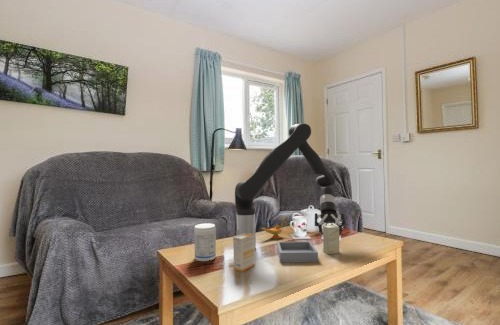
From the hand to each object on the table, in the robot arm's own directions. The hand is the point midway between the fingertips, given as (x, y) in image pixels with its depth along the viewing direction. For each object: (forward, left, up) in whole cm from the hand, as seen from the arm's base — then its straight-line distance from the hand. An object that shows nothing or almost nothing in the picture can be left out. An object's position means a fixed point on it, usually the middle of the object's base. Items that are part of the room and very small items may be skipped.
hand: (330, 233), depth 127 cm
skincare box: (0, -1, -9) cm, 9 cm away
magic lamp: (-26, +25, -9) cm, 37 cm away
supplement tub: (-58, -7, -9) cm, 59 cm away
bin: (-17, -5, -8) cm, 20 cm away
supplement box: (-40, -18, -9) cm, 45 cm away
